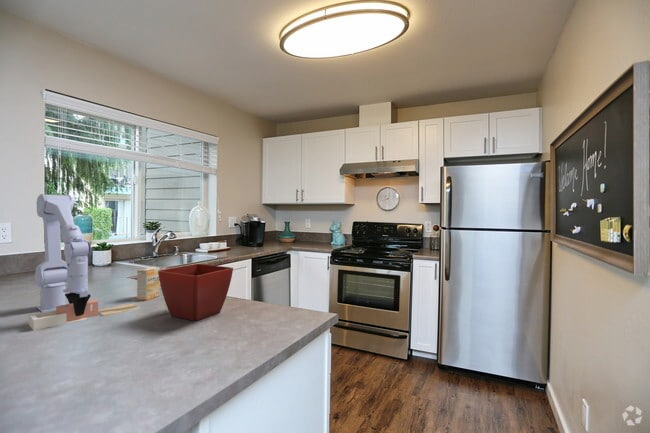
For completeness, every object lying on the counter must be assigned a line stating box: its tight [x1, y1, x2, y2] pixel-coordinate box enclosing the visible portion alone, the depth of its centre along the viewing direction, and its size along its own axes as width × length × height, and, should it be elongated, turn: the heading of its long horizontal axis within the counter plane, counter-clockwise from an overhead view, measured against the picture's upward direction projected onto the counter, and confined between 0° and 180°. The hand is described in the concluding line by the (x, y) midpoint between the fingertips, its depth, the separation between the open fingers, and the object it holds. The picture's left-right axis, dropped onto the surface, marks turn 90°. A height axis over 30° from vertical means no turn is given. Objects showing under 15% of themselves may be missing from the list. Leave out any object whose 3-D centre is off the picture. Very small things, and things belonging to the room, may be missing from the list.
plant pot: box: [158, 263, 234, 322], centre depth 118 cm, size 19×19×17 cm
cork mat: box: [98, 303, 141, 317], centre depth 122 cm, size 9×13×1 cm
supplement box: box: [136, 266, 161, 302], centre depth 139 cm, size 8×5×13 cm, turn 168°
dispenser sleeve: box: [28, 310, 104, 331], centre depth 110 cm, size 8×19×4 cm, turn 142°
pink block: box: [56, 299, 99, 322], centre depth 112 cm, size 4×11×5 cm, turn 142°
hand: (77, 313), depth 112 cm, fingers closed on pink block, 4 cm apart
